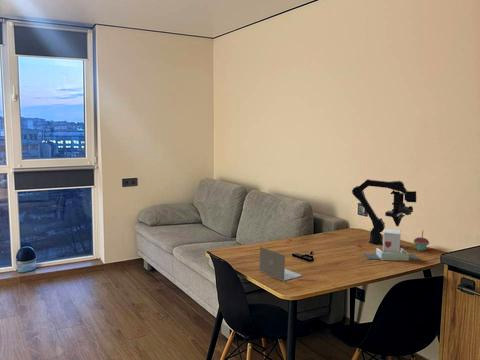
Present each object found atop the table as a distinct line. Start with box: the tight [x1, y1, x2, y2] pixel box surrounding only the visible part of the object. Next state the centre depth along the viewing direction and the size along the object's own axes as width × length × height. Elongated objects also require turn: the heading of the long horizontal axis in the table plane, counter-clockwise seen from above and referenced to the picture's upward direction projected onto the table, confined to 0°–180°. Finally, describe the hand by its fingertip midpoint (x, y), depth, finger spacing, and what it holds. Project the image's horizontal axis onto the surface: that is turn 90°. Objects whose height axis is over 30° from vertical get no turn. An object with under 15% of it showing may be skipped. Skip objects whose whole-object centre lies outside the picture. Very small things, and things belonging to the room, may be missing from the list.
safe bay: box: [363, 247, 422, 262], centre depth 245 cm, size 10×29×4 cm, turn 89°
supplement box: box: [382, 228, 402, 253], centre depth 245 cm, size 9×9×15 cm
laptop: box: [258, 246, 303, 282], centre depth 215 cm, size 18×12×13 cm
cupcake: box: [413, 230, 430, 251], centre depth 263 cm, size 9×8×12 cm
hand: (397, 226), depth 270 cm, fingers closed
